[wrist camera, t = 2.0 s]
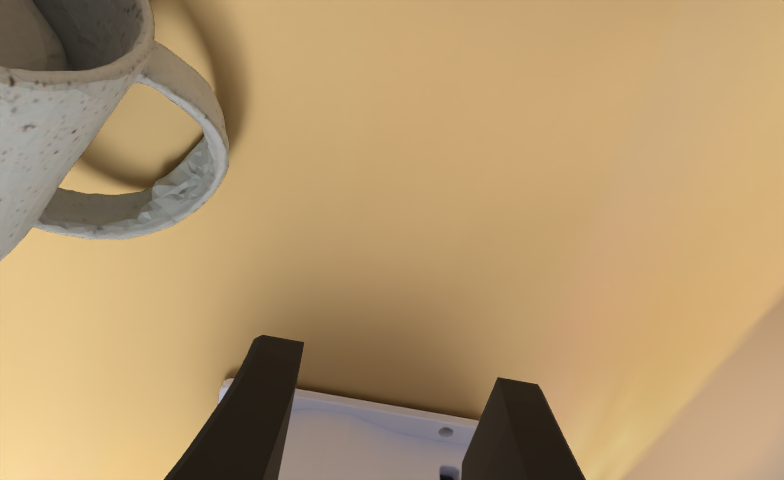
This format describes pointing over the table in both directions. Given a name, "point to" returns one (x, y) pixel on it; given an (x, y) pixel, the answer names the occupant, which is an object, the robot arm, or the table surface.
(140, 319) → the table surface
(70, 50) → the ceramic mug
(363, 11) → the table surface
